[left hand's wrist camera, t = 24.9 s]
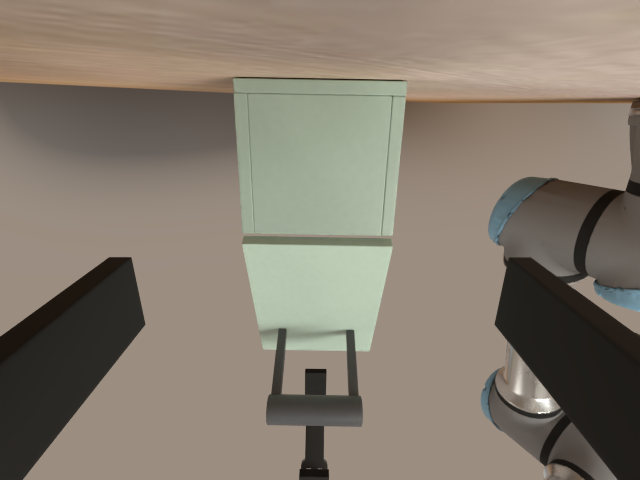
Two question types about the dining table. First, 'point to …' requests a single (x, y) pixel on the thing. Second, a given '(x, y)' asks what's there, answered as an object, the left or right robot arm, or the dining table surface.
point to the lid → (316, 313)
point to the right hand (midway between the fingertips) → (315, 413)
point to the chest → (318, 154)
